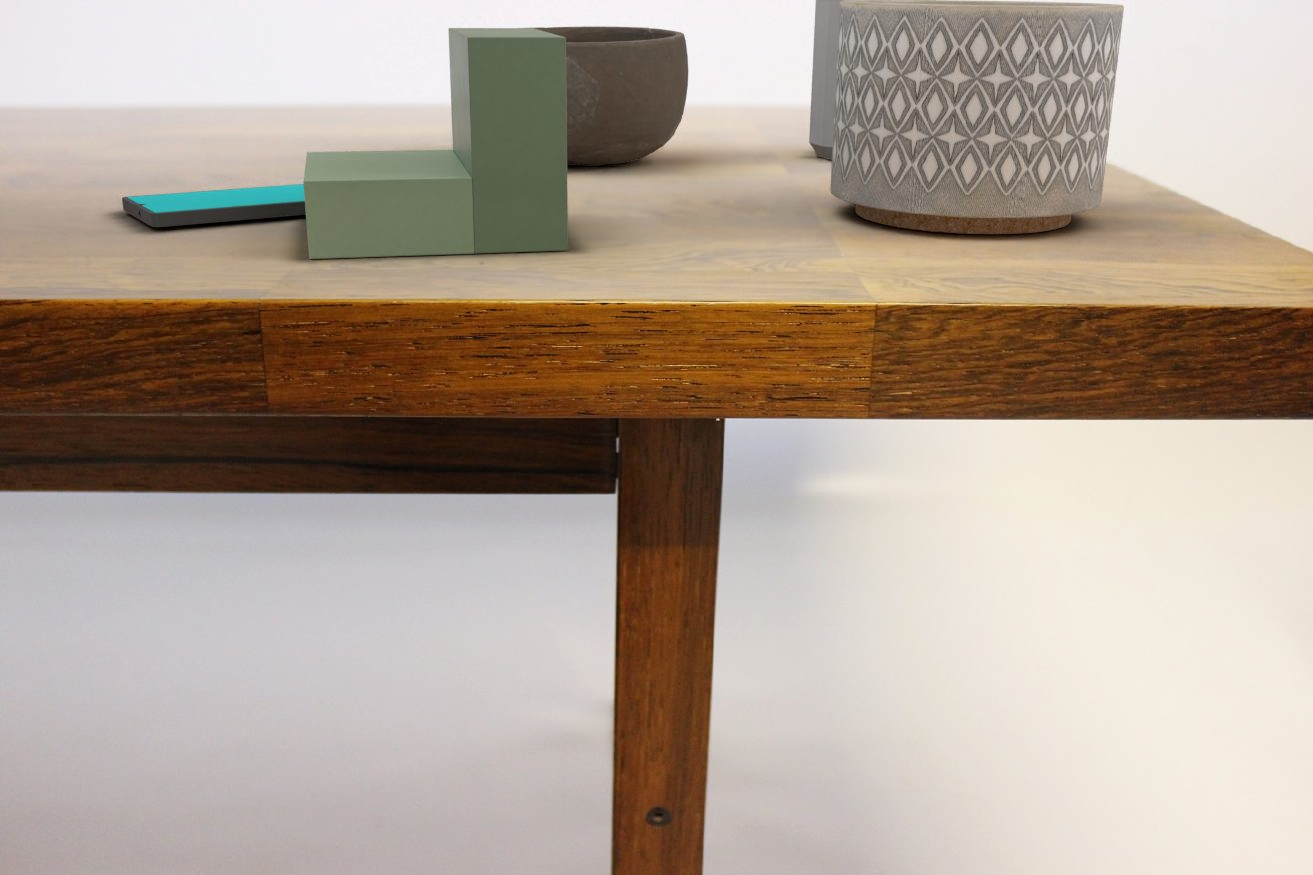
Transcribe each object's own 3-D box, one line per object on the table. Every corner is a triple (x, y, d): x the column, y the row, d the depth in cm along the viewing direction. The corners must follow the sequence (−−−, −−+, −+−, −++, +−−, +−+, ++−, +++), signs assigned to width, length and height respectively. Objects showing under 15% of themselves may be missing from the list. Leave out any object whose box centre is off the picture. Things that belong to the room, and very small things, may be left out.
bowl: (526, 180, 97) (523, 35, 94) (437, 153, 111) (432, 26, 108) (730, 167, 105) (734, 33, 102) (622, 143, 119) (623, 24, 116)
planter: (875, 243, 76) (890, 5, 71) (800, 197, 91) (808, -1, 87) (1148, 237, 78) (1178, 7, 74) (1030, 194, 93) (1050, 1, 89)
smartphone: (399, 194, 84) (151, 213, 76) (400, 207, 84) (153, 228, 77) (355, 179, 90) (120, 196, 82) (355, 192, 90) (121, 210, 82)
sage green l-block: (309, 259, 70) (292, 36, 66) (311, 220, 81) (298, 27, 77) (568, 250, 72) (566, 37, 69) (536, 214, 84) (533, 28, 80)
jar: (861, 167, 106) (876, -79, 100) (783, 153, 114) (793, -76, 108) (951, 159, 111) (970, -75, 105) (871, 147, 119) (884, -72, 113)
